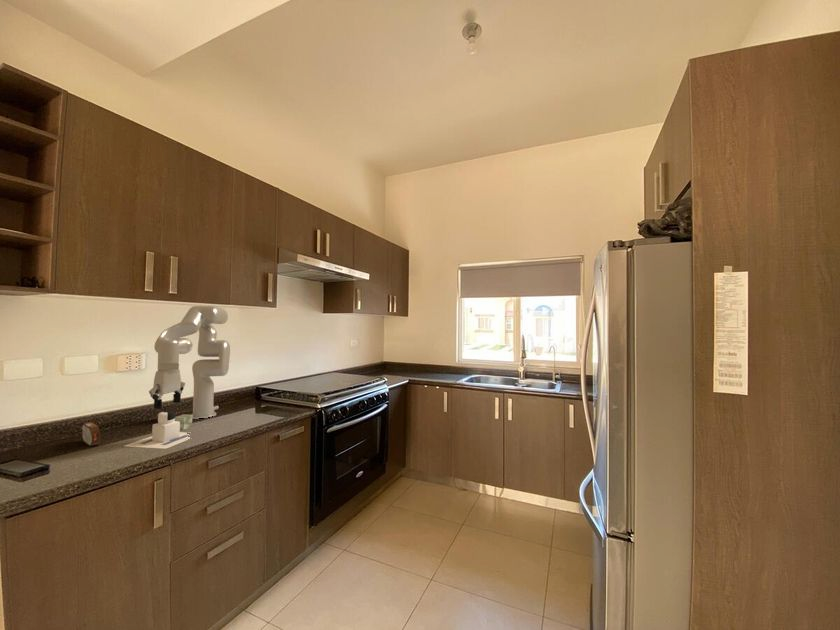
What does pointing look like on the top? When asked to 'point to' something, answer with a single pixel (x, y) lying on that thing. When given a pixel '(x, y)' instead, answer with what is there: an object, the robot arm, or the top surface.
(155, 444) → the letter sheet
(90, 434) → the tin
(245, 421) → the top surface
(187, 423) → the cover block
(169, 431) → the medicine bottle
